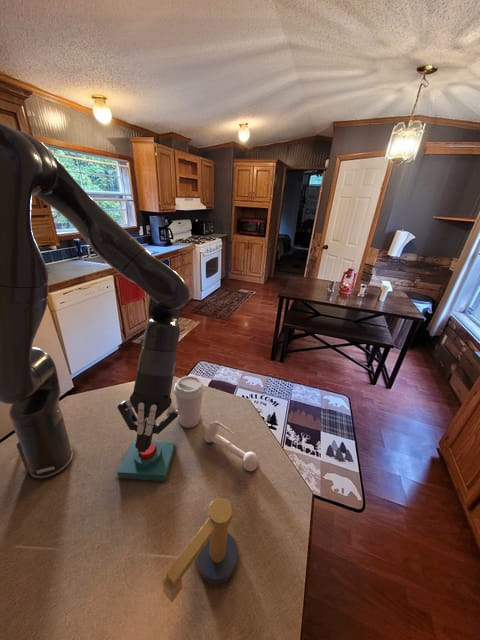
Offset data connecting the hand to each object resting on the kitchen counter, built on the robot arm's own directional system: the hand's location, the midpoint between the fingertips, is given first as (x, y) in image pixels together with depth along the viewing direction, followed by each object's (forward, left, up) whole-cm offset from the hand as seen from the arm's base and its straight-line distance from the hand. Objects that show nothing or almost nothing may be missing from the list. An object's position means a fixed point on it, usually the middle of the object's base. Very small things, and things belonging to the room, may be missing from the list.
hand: (142, 450), depth 53 cm
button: (-4, +10, -14) cm, 18 cm away
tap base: (+17, -10, -17) cm, 27 cm away
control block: (-4, +10, -17) cm, 21 cm away
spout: (+15, -14, -6) cm, 21 cm away
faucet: (+18, +15, -18) cm, 30 cm away
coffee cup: (+4, +26, -18) cm, 32 cm away
